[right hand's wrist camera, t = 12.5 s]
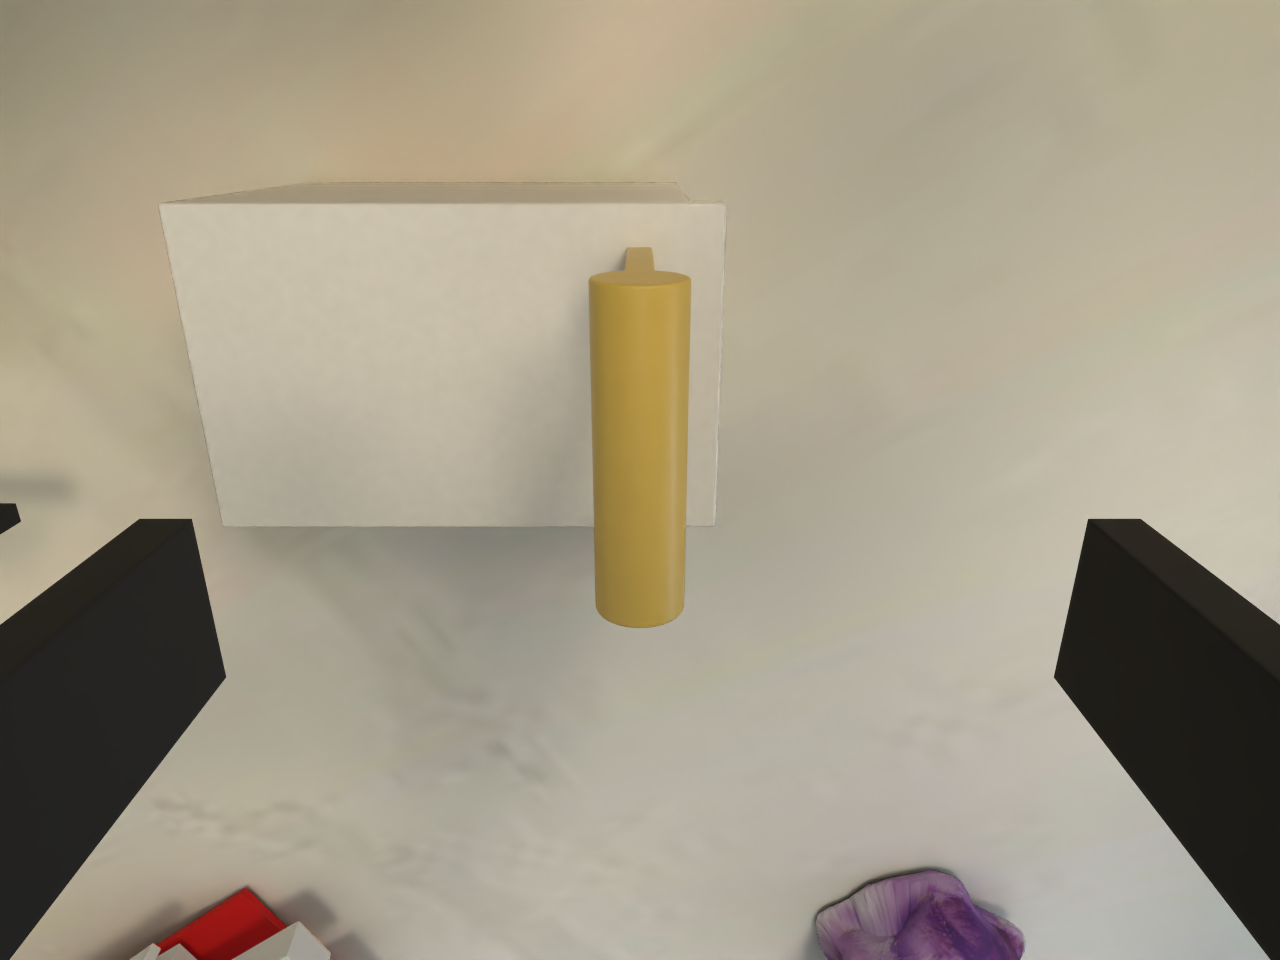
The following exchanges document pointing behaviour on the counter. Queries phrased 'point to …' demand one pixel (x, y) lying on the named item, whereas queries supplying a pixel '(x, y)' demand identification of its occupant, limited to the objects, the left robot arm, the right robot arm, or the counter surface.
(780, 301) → the counter surface
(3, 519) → the left robot arm
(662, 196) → the chest
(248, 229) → the lid
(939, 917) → the figurine
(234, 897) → the toy
